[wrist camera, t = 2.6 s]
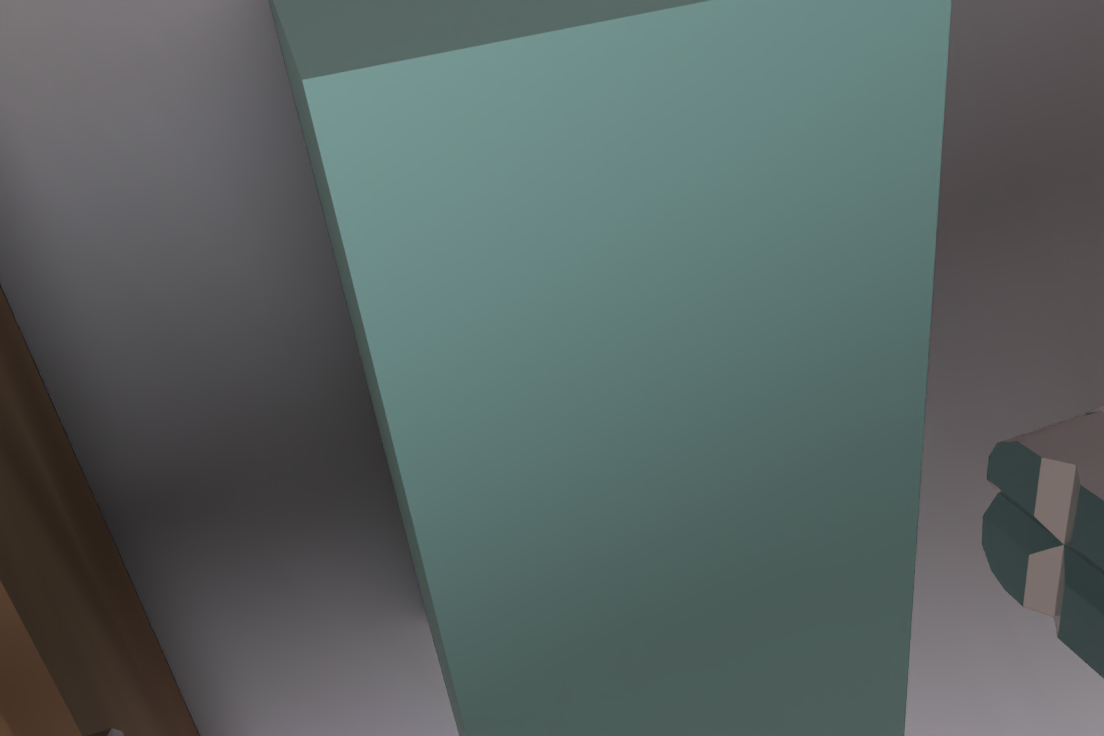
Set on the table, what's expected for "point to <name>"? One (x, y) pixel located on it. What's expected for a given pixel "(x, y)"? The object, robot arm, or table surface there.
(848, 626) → the teal block
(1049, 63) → the table surface
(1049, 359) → the table surface
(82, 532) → the rack
